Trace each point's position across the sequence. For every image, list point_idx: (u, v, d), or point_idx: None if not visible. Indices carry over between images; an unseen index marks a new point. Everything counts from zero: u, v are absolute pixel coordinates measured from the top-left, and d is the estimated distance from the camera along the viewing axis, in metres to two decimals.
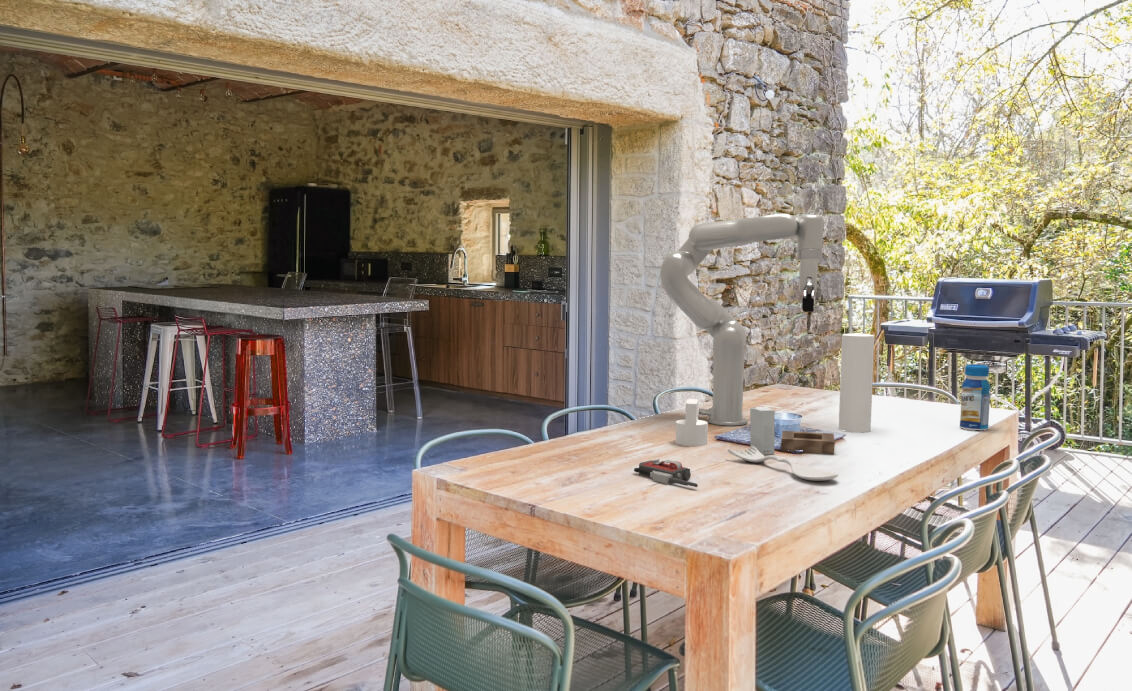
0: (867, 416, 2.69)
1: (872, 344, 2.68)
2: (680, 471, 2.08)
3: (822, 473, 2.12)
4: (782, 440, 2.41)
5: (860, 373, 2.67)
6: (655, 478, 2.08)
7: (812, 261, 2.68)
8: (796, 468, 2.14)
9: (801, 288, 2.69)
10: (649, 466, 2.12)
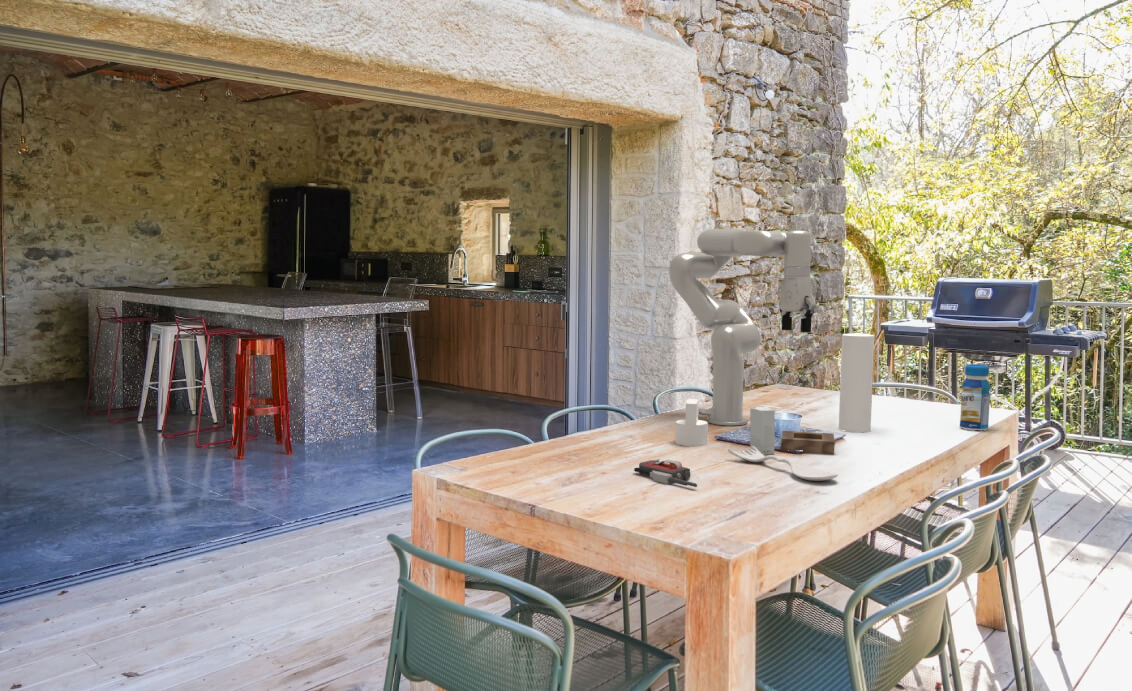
0: (867, 416, 2.69)
1: (872, 344, 2.68)
2: (680, 471, 2.08)
3: (822, 473, 2.12)
4: (782, 440, 2.41)
5: (860, 373, 2.67)
6: (655, 478, 2.08)
7: (807, 279, 2.56)
8: (796, 468, 2.14)
9: (799, 308, 2.55)
10: (649, 466, 2.12)
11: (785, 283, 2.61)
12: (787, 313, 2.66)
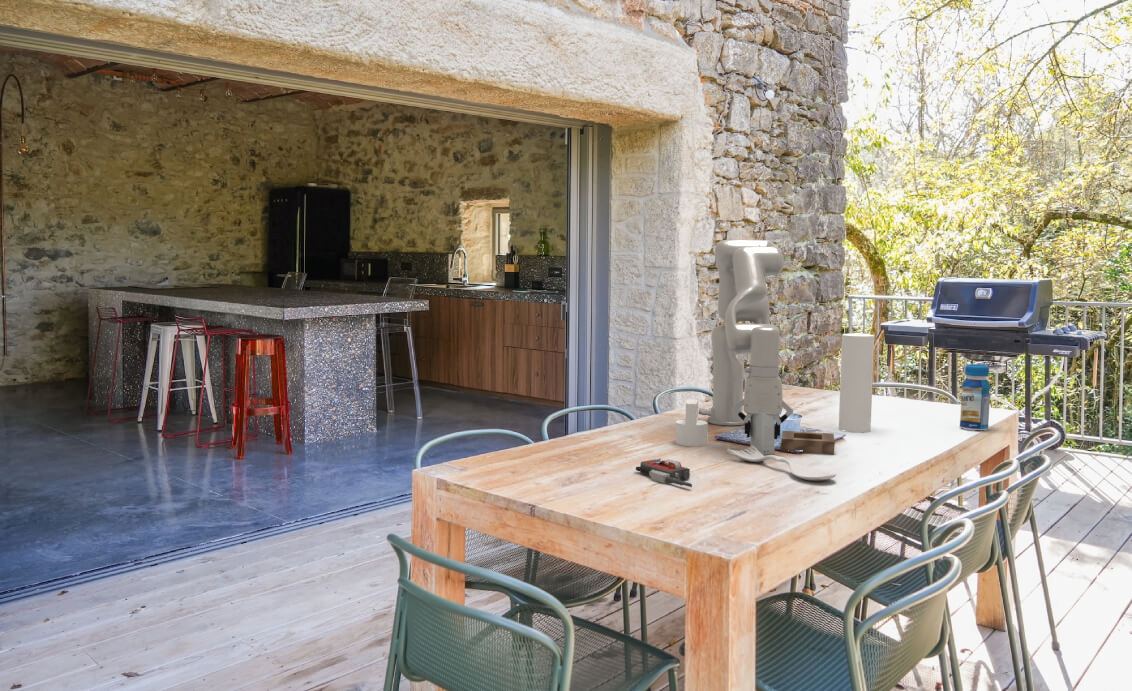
0: (867, 416, 2.69)
1: (872, 344, 2.68)
2: (678, 471, 2.08)
3: (820, 473, 2.13)
4: (782, 440, 2.41)
5: (860, 373, 2.67)
6: (653, 477, 2.09)
7: None
8: (794, 468, 2.15)
9: (781, 411, 2.36)
10: (649, 465, 2.13)
11: (756, 384, 2.36)
12: None
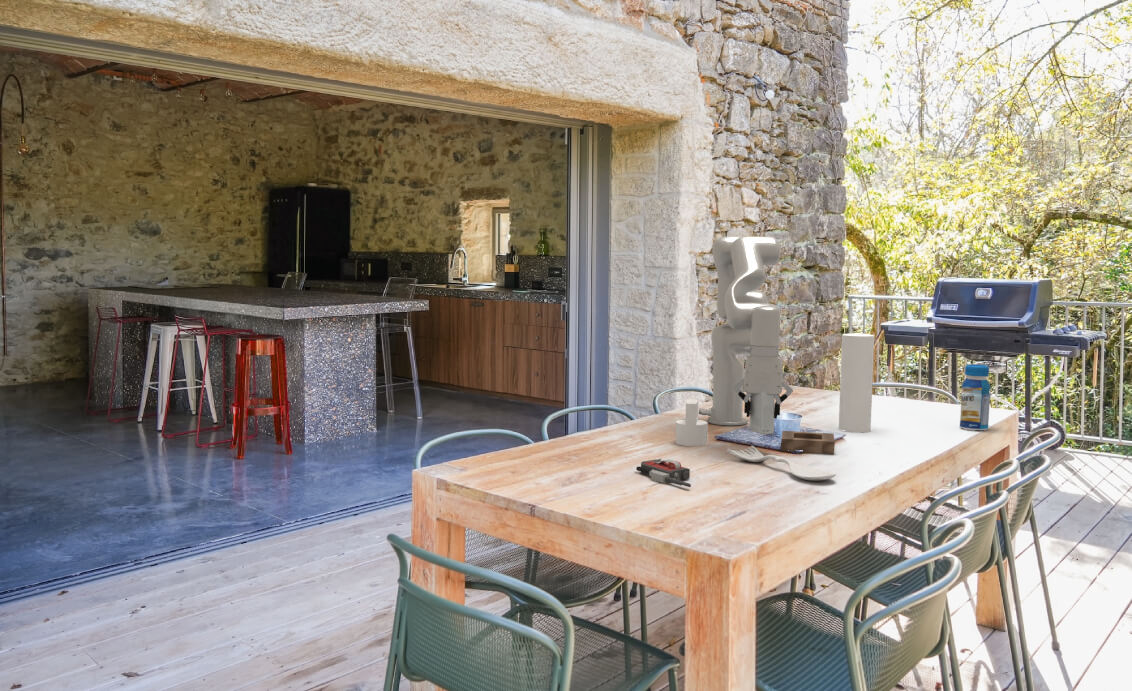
0: (867, 416, 2.69)
1: (872, 344, 2.68)
2: (678, 471, 2.08)
3: (820, 473, 2.13)
4: (782, 440, 2.41)
5: (860, 373, 2.67)
6: (653, 477, 2.09)
7: None
8: (794, 468, 2.15)
9: (781, 391, 2.36)
10: (650, 465, 2.13)
11: (756, 364, 2.36)
12: None
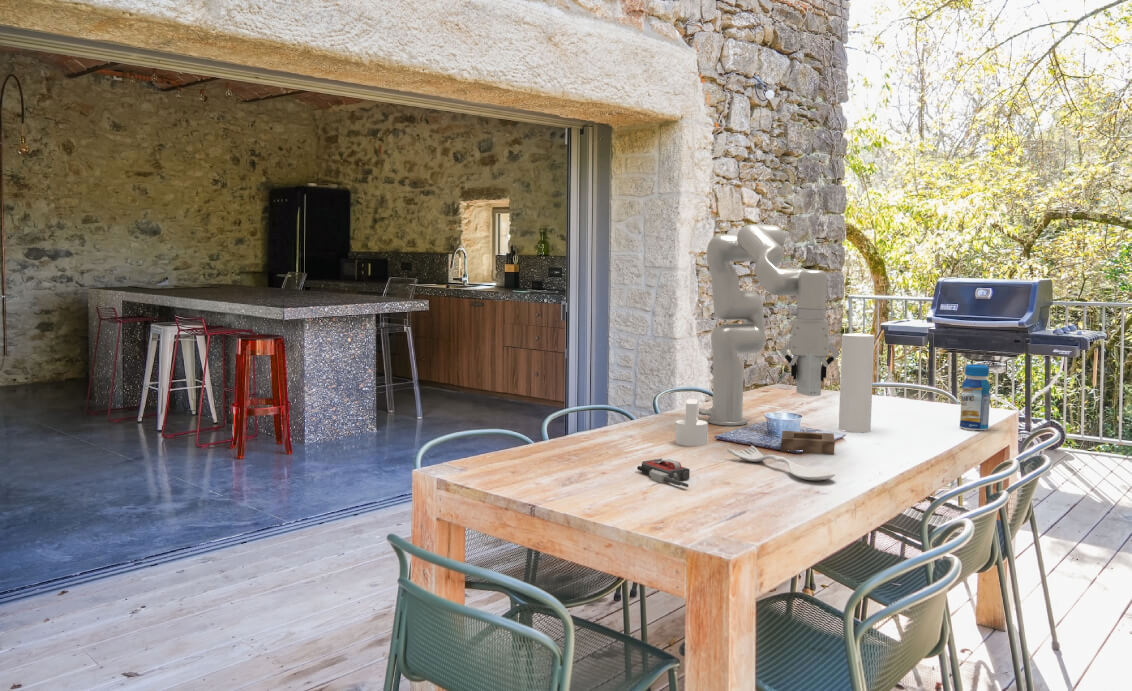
0: (867, 416, 2.69)
1: (872, 344, 2.68)
2: (677, 471, 2.08)
3: (819, 473, 2.13)
4: (782, 440, 2.41)
5: (860, 373, 2.67)
6: (652, 477, 2.09)
7: None
8: (794, 467, 2.15)
9: None
10: (650, 465, 2.14)
11: (803, 326, 2.40)
12: None
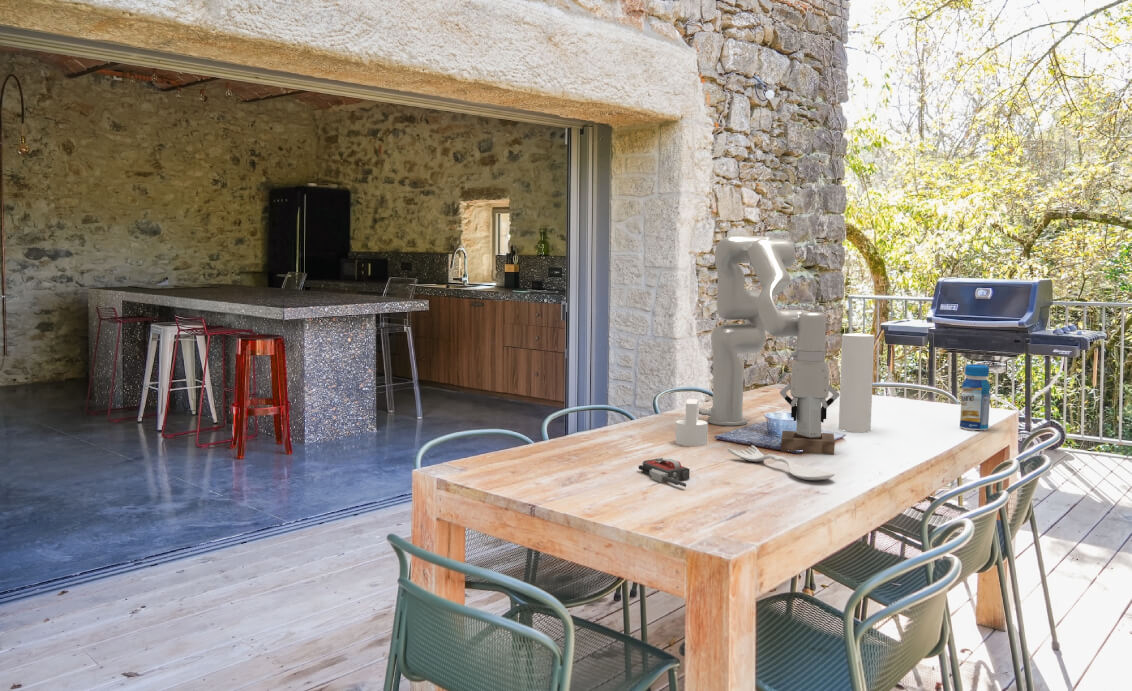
0: (867, 416, 2.69)
1: (872, 344, 2.68)
2: (677, 470, 2.08)
3: (819, 473, 2.13)
4: (782, 440, 2.41)
5: (860, 373, 2.67)
6: (652, 476, 2.10)
7: None
8: (793, 467, 2.15)
9: (827, 395, 2.41)
10: (650, 464, 2.14)
11: (803, 368, 2.41)
12: None
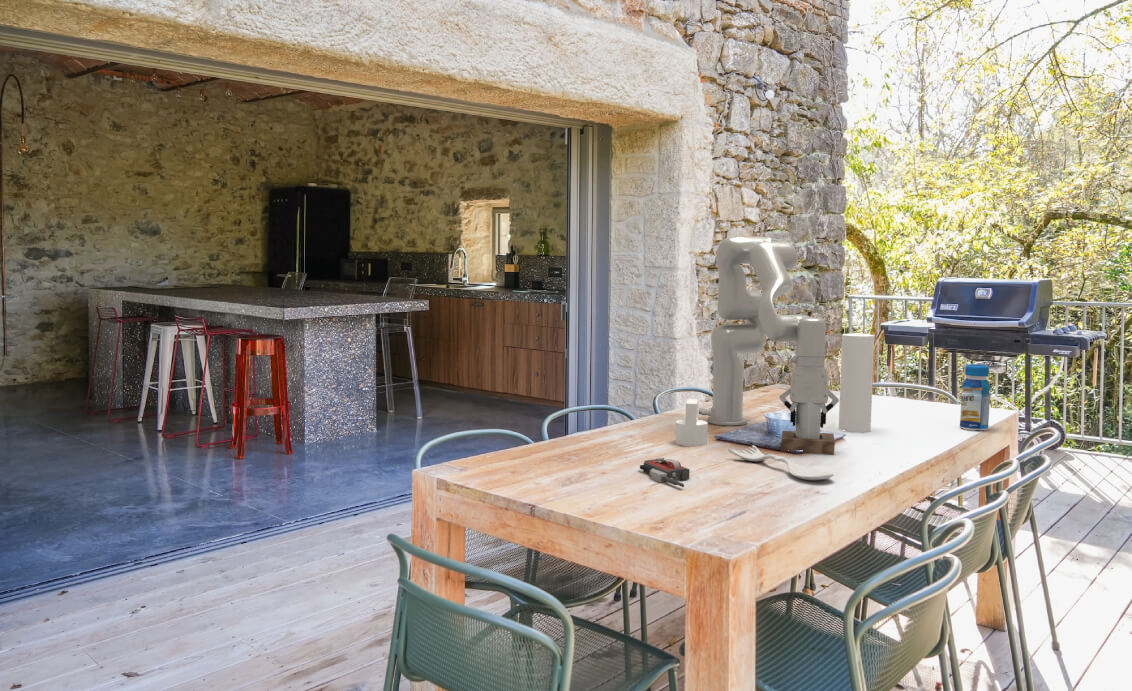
0: (867, 416, 2.69)
1: (872, 344, 2.68)
2: (676, 471, 2.08)
3: (818, 473, 2.13)
4: (782, 440, 2.41)
5: (860, 373, 2.67)
6: (651, 476, 2.10)
7: None
8: (793, 467, 2.15)
9: (827, 400, 2.41)
10: (651, 464, 2.14)
11: (803, 374, 2.42)
12: None
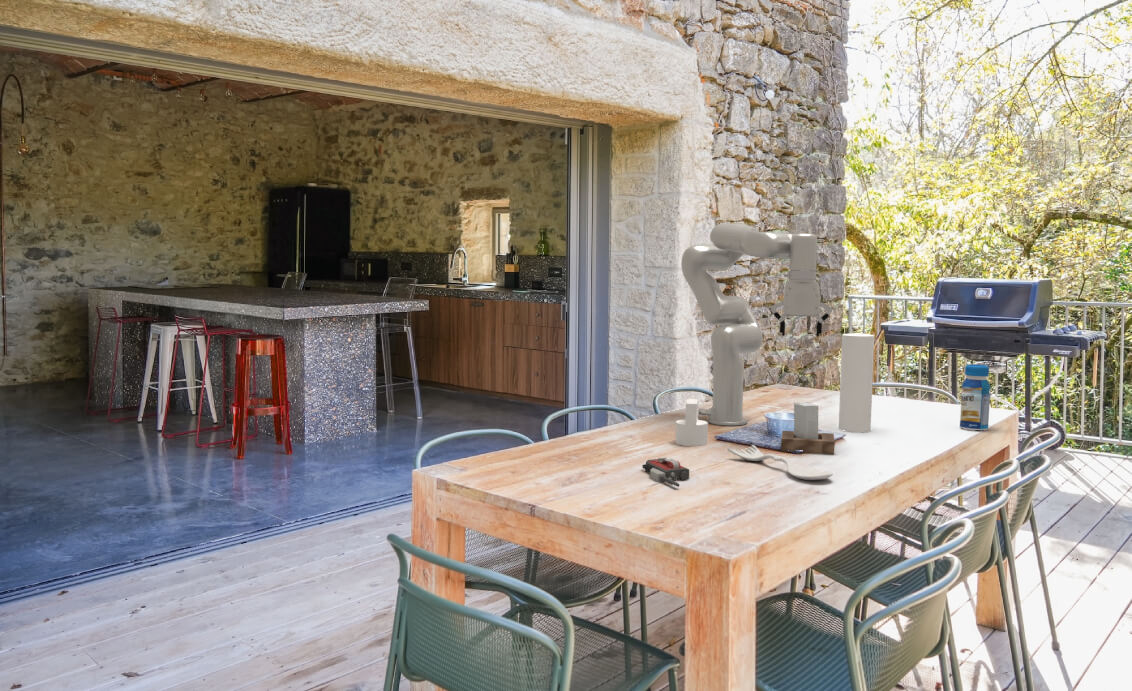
0: (867, 416, 2.69)
1: (872, 344, 2.68)
2: (675, 470, 2.09)
3: (817, 472, 2.13)
4: (782, 440, 2.41)
5: (860, 373, 2.67)
6: (651, 475, 2.11)
7: None
8: (792, 467, 2.15)
9: (818, 312, 2.52)
10: (652, 463, 2.15)
11: (795, 287, 2.52)
12: None
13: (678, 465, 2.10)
